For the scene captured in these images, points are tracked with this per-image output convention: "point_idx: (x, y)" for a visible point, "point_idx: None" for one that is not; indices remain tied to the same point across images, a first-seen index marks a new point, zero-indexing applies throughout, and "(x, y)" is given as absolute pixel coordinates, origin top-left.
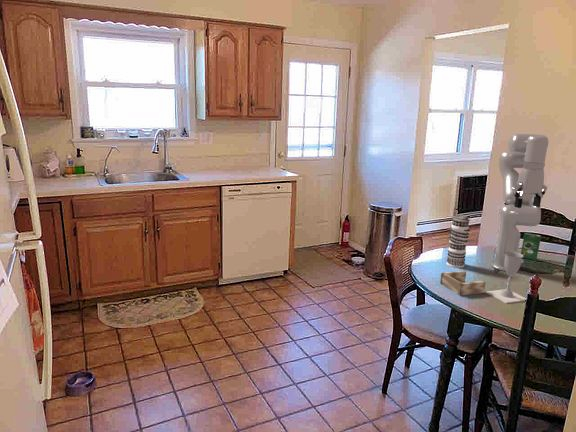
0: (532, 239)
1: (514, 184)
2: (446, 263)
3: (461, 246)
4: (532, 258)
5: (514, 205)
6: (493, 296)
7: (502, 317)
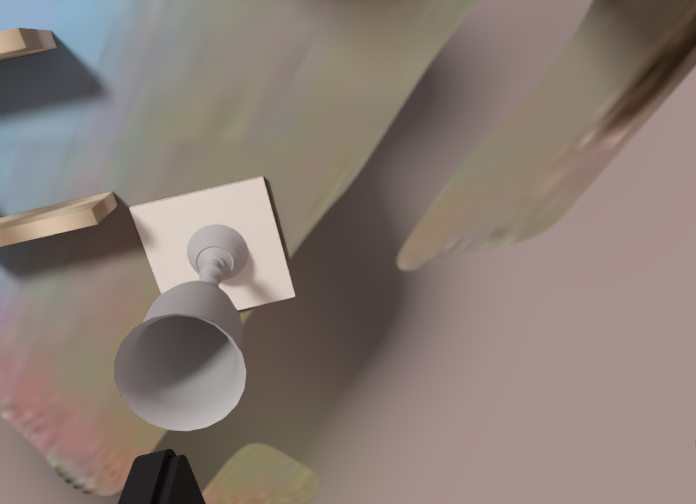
0: None
1: None
2: None
3: None
4: None
5: (131, 470)
6: (148, 252)
7: (98, 435)
